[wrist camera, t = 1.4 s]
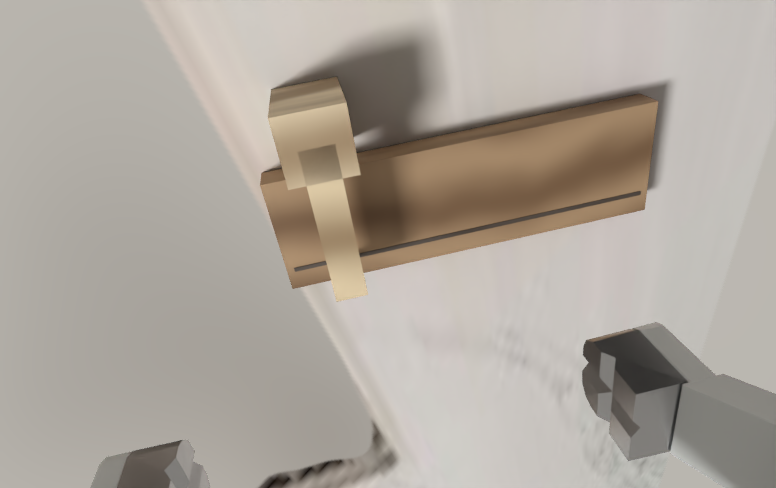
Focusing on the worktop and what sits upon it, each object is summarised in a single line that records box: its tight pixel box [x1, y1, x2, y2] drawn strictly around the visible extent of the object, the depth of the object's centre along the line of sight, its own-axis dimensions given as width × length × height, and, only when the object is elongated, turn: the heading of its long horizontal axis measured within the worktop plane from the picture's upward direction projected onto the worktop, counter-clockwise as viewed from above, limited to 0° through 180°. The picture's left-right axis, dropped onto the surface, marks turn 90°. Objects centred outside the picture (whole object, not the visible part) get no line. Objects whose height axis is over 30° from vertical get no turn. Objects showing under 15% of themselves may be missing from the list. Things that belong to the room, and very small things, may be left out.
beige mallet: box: [268, 77, 368, 302], centre depth 31 cm, size 12×4×6 cm, turn 9°
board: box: [260, 94, 658, 289], centre depth 35 cm, size 8×26×2 cm, turn 99°
